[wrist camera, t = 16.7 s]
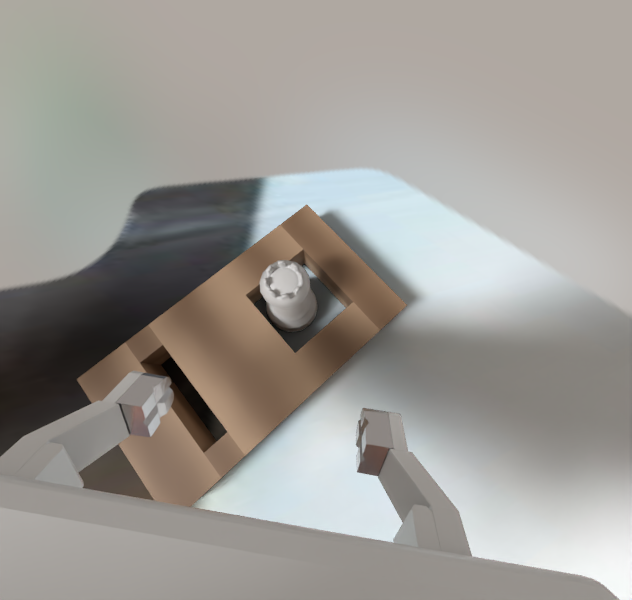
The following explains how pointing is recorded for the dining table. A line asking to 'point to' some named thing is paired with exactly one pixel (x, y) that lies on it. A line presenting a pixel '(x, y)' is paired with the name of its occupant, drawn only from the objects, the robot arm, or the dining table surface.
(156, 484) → the block
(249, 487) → the dining table surface
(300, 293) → the rook chess piece
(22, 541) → the robot arm
